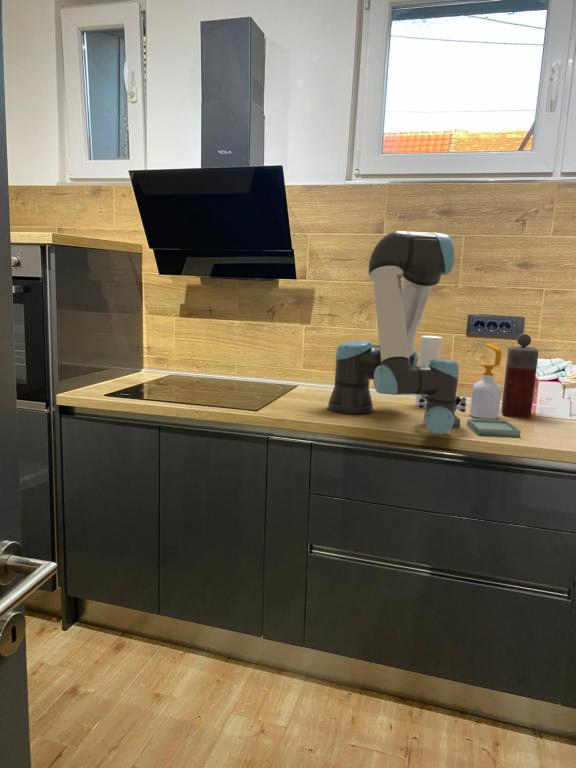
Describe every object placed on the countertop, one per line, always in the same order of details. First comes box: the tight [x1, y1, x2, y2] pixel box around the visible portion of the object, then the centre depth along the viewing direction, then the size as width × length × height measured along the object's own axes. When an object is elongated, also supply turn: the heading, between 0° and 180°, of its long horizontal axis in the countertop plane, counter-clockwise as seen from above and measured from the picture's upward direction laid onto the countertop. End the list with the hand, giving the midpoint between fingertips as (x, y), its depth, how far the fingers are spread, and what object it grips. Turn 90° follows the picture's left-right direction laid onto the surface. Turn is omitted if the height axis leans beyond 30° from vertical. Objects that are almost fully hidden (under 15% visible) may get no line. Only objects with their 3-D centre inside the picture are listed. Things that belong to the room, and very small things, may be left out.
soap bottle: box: [469, 343, 502, 420], centre depth 190 cm, size 9×9×25 cm
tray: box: [466, 418, 521, 438], centre depth 173 cm, size 12×12×2 cm
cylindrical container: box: [415, 335, 443, 409], centre depth 203 cm, size 7×7×25 cm
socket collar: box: [423, 410, 461, 428], centre depth 180 cm, size 9×9×2 cm
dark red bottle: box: [501, 333, 539, 419], centre depth 196 cm, size 9×11×28 cm
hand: (444, 395), depth 184 cm, fingers closed on beverage cup, 6 cm apart
